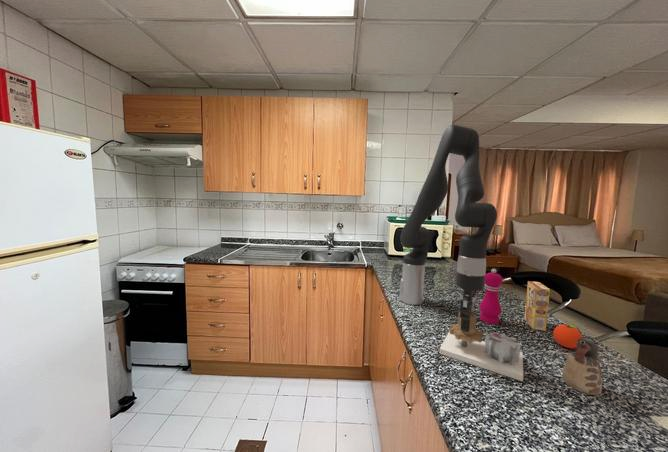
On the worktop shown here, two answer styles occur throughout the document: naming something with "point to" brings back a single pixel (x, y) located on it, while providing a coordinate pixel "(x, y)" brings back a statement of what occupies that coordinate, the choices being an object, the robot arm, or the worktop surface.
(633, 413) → the worktop surface
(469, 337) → the planet gear
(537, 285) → the candy box
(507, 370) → the carrier plate
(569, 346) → the clementine
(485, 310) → the pepper mill
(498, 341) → the sun gear
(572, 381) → the figurine
